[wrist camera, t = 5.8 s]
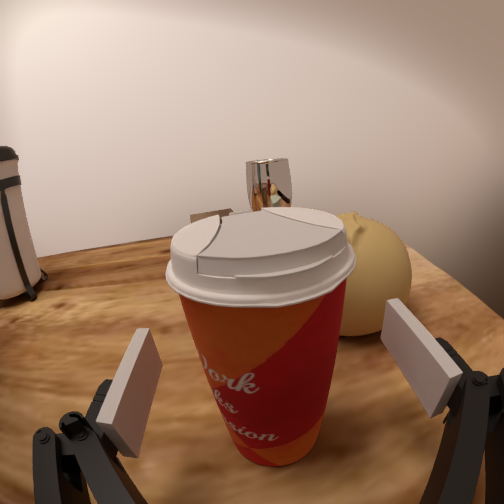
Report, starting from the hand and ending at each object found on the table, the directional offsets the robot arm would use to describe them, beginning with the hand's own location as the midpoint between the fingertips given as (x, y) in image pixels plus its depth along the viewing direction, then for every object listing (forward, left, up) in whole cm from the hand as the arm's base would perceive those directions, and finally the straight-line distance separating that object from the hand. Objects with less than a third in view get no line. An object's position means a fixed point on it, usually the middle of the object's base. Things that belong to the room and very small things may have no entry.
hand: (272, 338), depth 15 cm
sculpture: (+9, +11, -8) cm, 16 cm away
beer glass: (+4, +33, -8) cm, 34 cm away
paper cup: (0, -1, -8) cm, 8 cm away
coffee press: (-45, +26, -8) cm, 53 cm away
